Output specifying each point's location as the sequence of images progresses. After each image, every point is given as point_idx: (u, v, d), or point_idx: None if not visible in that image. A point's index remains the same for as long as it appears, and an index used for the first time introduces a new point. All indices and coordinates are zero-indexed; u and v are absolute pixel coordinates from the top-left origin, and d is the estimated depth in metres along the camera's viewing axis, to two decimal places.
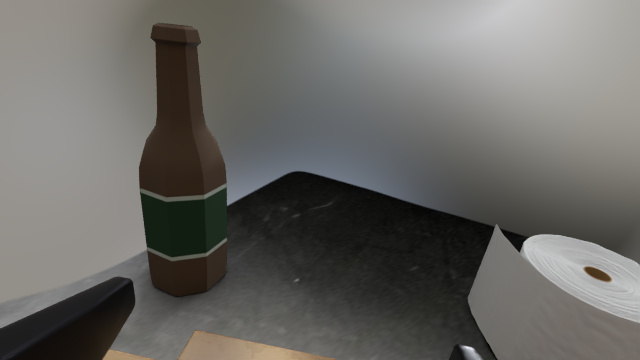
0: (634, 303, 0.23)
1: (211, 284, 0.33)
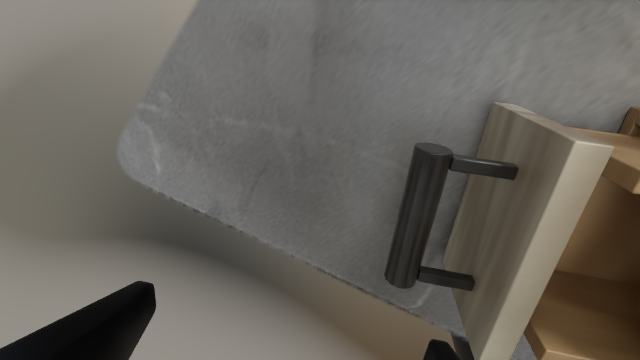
0: None
1: None
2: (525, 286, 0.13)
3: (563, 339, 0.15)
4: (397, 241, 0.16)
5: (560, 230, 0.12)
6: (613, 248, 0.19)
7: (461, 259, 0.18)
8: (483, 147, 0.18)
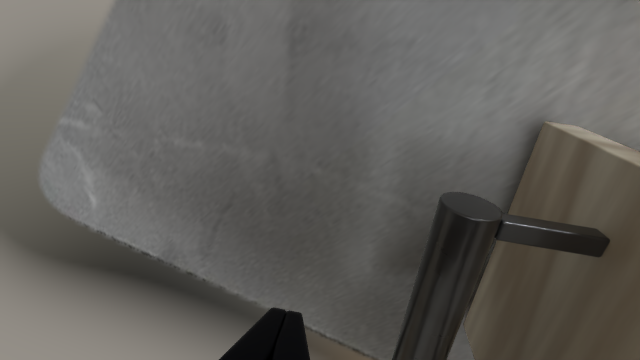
0: None
1: None
2: None
3: None
4: (409, 337, 0.10)
5: None
6: None
7: (496, 340, 0.13)
8: (529, 185, 0.13)
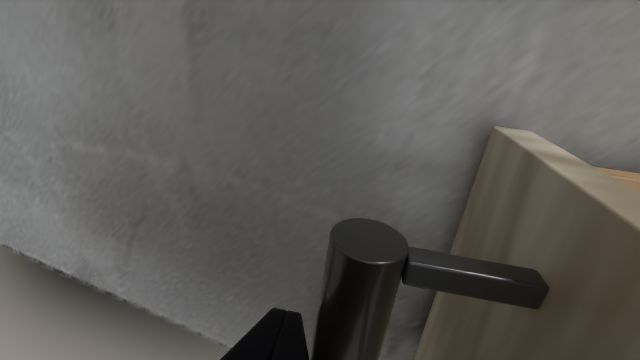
0: None
1: None
2: None
3: None
4: None
5: None
6: None
7: None
8: (476, 203, 0.10)
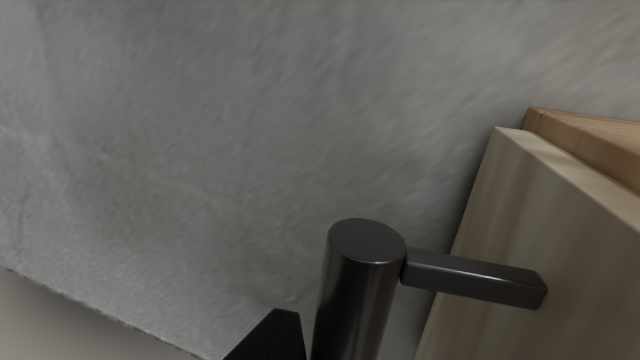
0: None
1: None
2: None
3: None
4: None
5: None
6: None
7: None
8: (476, 203, 0.10)
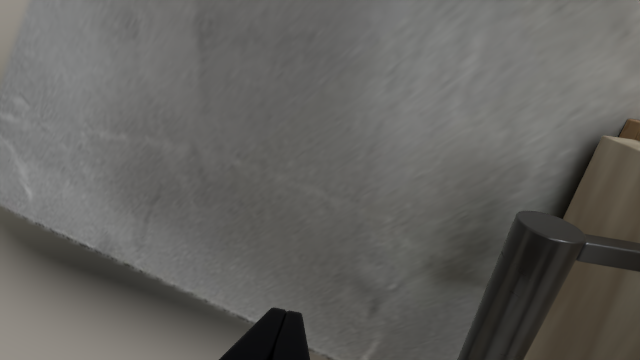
0: None
1: None
2: None
3: None
4: (477, 357, 0.10)
5: None
6: None
7: (551, 356, 0.13)
8: (586, 200, 0.12)
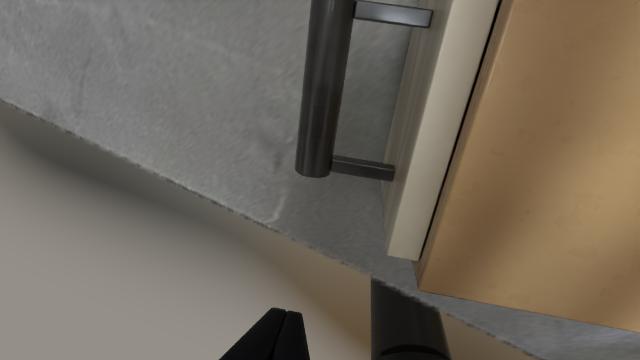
0: None
1: None
2: (431, 141, 0.10)
3: None
4: (301, 118, 0.13)
5: (466, 56, 0.09)
6: None
7: (390, 158, 0.16)
8: (414, 26, 0.15)
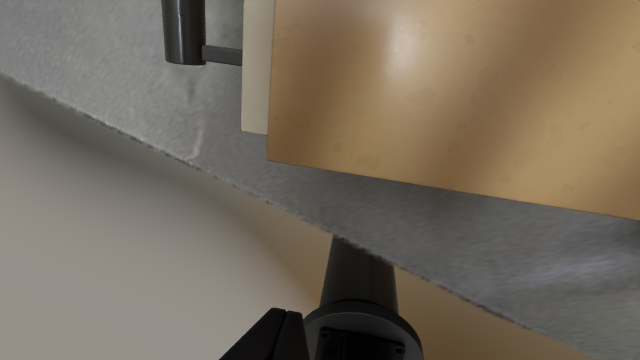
0: None
1: None
2: None
3: None
4: None
5: None
6: None
7: None
8: None
